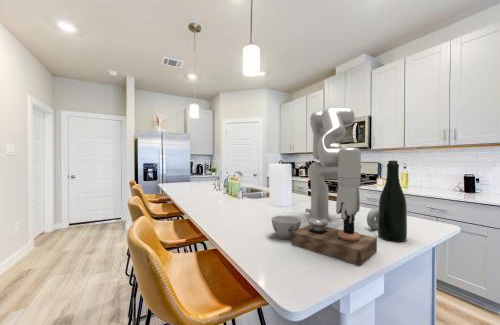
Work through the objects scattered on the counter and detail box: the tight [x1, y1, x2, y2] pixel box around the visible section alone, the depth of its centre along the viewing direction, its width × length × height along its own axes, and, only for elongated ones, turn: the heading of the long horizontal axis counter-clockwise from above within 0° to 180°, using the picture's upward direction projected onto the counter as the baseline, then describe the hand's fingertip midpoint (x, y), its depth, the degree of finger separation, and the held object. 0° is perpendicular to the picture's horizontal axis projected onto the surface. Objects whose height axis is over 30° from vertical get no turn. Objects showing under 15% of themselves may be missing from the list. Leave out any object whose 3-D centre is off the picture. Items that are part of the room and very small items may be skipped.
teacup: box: [271, 215, 302, 240], centre depth 101 cm, size 15×12×8 cm
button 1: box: [308, 217, 329, 235], centre depth 92 cm, size 7×7×6 cm
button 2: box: [338, 229, 361, 243], centre depth 84 cm, size 7×7×6 cm
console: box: [291, 224, 378, 267], centre depth 88 cm, size 26×16×5 cm, turn 45°
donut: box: [366, 207, 379, 230], centre depth 110 cm, size 10×4×10 cm, turn 117°
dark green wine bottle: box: [377, 160, 408, 243], centre depth 98 cm, size 10×10×33 cm
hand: (348, 233), depth 83 cm, fingers closed
